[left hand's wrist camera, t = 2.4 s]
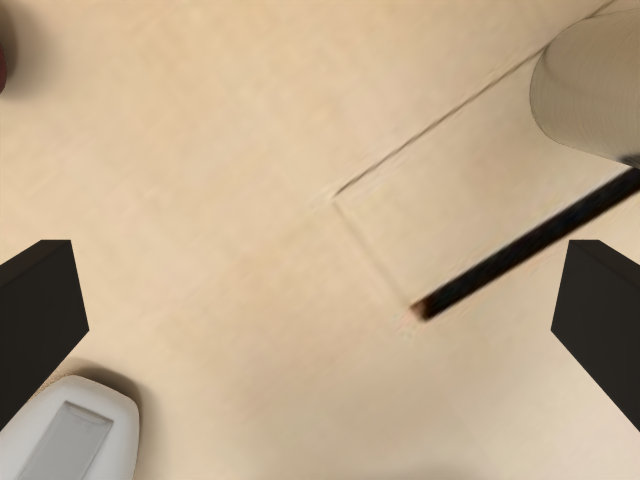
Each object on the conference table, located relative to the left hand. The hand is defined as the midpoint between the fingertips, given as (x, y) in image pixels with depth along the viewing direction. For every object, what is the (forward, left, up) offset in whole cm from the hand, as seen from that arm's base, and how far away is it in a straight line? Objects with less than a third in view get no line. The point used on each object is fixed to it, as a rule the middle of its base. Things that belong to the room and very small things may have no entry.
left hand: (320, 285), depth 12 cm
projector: (-34, +28, -28) cm, 52 cm away
